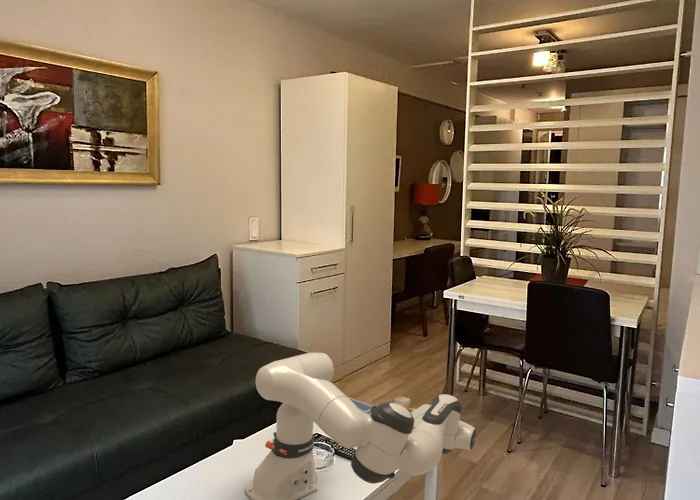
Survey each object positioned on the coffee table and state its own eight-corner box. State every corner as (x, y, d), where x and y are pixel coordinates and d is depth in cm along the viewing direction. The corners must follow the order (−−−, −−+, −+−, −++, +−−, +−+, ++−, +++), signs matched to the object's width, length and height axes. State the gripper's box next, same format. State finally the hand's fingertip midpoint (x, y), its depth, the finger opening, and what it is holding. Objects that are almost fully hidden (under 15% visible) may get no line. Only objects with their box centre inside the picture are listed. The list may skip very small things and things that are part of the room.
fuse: (402, 436, 189) (404, 402, 187) (392, 432, 191) (394, 399, 190) (408, 432, 192) (410, 399, 190) (399, 428, 195) (400, 395, 193)
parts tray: (350, 429, 192) (351, 420, 192) (318, 416, 202) (319, 408, 202) (375, 415, 205) (376, 407, 204) (344, 403, 215) (344, 395, 214)
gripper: (416, 443, 175) (383, 430, 184) (445, 423, 191) (413, 411, 199) (417, 426, 174) (383, 413, 183) (446, 406, 190) (414, 396, 199)
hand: (399, 412), depth 191 cm, fingers closed on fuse, 4 cm apart
